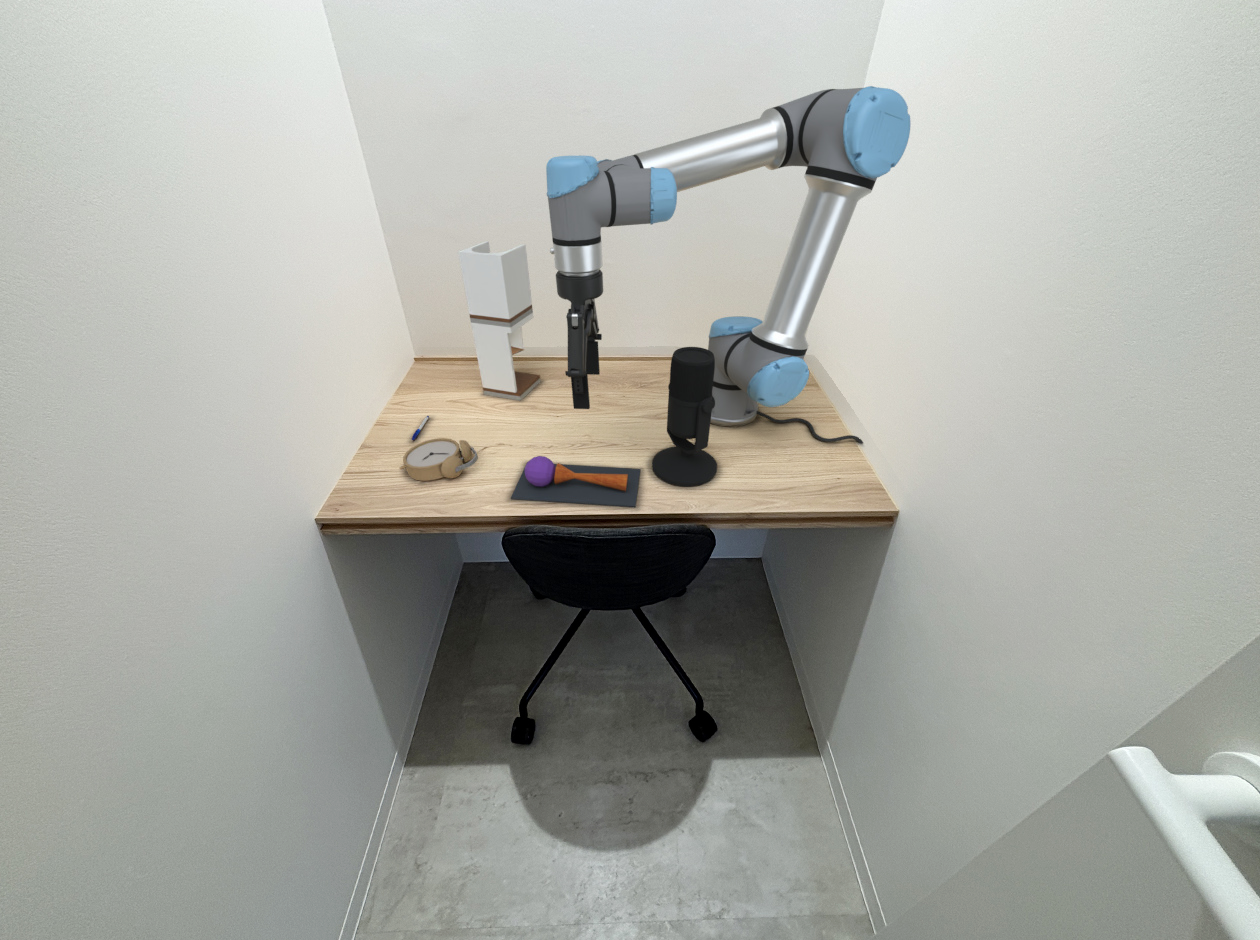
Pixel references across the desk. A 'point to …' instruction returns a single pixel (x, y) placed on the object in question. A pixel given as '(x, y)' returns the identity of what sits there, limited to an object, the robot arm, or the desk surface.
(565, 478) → the kendama
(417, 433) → the ballpoint pen
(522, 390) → the display case
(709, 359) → the microphone
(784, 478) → the desk surface
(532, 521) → the desk surface
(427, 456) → the alarm clock
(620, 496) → the mat
